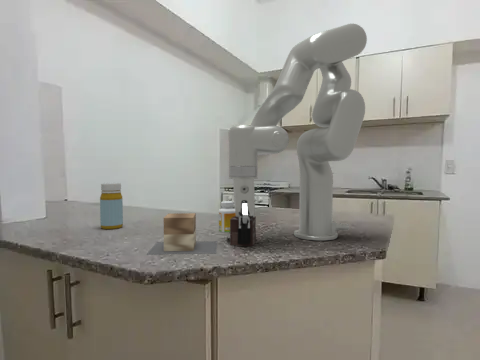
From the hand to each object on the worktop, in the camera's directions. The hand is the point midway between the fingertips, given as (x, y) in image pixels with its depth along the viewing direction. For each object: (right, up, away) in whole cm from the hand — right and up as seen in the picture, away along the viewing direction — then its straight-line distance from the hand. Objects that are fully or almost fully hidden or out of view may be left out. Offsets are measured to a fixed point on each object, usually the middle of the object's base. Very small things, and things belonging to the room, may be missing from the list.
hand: (243, 239), depth 85 cm
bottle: (-44, -1, +24) cm, 50 cm away
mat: (-15, -2, -5) cm, 15 cm away
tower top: (-16, +3, -5) cm, 17 cm away
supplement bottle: (-5, -1, +16) cm, 17 cm away
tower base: (-16, -1, -5) cm, 16 cm away
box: (0, -2, 0) cm, 2 cm away
